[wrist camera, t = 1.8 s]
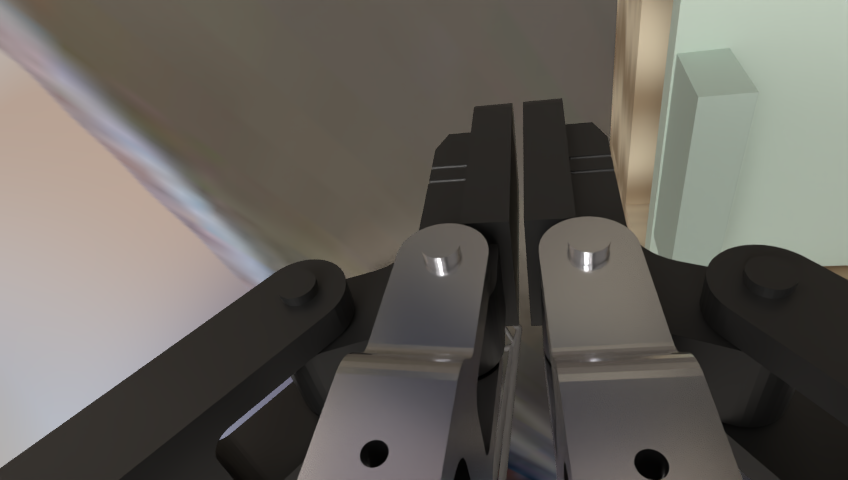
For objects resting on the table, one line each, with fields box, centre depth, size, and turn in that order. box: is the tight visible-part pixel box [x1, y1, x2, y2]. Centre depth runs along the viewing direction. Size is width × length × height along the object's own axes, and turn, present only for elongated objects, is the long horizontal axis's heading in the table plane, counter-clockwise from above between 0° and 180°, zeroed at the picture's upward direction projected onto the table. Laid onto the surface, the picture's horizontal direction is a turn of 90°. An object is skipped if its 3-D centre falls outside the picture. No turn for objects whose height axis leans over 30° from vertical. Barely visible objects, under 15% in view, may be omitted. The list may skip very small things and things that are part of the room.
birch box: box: [610, 0, 848, 280], centre depth 29 cm, size 17×19×14 cm
